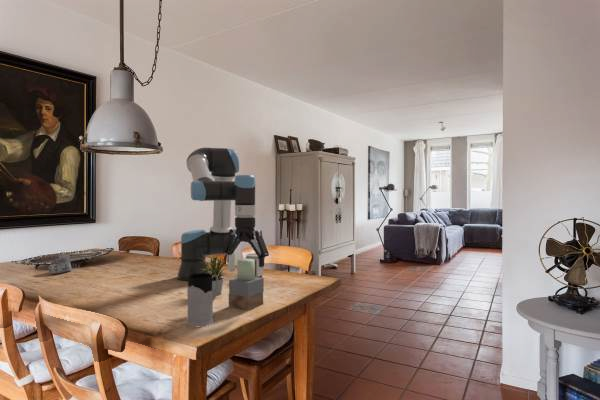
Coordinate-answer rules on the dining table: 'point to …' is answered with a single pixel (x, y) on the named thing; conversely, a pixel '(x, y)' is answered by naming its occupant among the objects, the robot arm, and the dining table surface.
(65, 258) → the mineral rock
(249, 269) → the pale green rounded cylinder
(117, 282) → the dining table surface
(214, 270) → the house plant
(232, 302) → the walnut base block
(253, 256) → the disposable coffee cup
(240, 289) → the charcoal top block
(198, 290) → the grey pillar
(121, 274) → the dining table surface
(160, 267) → the dining table surface
